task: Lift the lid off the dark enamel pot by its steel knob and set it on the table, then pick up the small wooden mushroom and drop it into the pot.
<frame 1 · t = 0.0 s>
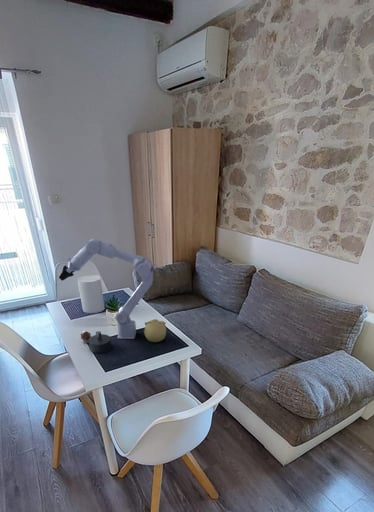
hand: (63, 276, 153), 32 cm above the table, tool tilted 50°, fingers open, 7 cm apart
sculpture: (155, 339, 168), on the table
canister: (93, 309, 199), on the table
lid: (99, 340, 156), point 5 cm above the table, touching pot
pot: (100, 348, 159), on the table
mushroom: (86, 341, 164), on the table
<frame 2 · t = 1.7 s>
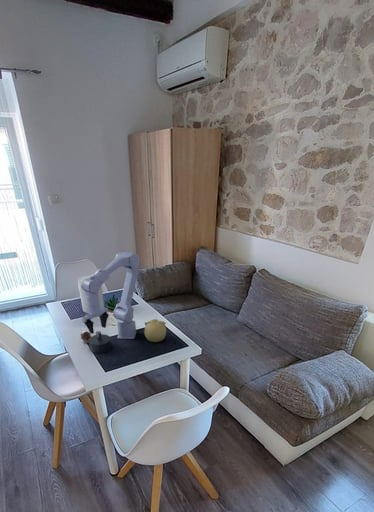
hand: (97, 330, 153), 10 cm above the table, tool pointing down, fingers open, 7 cm apart
nothing on the table moved.
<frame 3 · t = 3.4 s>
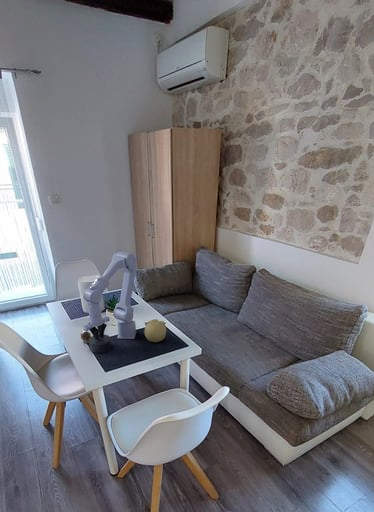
hand: (99, 338, 156), 6 cm above the table, tool pointing down, fingers closed on lid, 2 cm apart
lid: (99, 340, 156), point 5 cm above the table, touching gripper, pot
everything else where it was.
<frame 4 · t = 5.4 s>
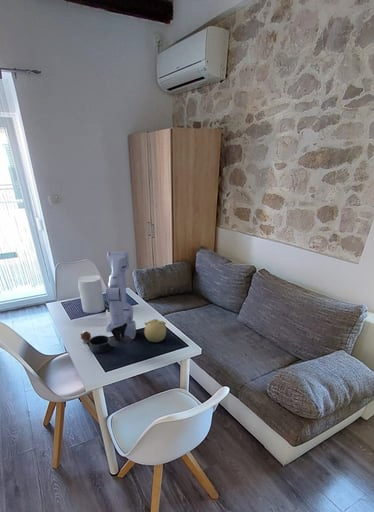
hand: (119, 339, 148), 9 cm above the table, tool pointing down, fingers closed on lid, 2 cm apart
lid: (119, 341, 149), point 8 cm above the table, touching gripper
everything else where it was.
when the fingers open (2 cm above the table, at t = 7.4 s): lid stays where it is, point 1 cm above the table.
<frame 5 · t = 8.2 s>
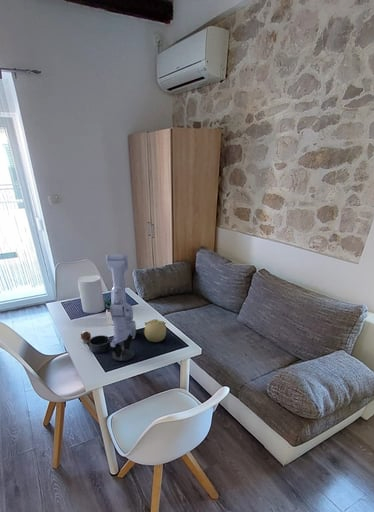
hand: (122, 352, 152), 2 cm above the table, tool pointing down, fingers open, 7 cm apart
lid: (123, 355, 152), point 1 cm above the table
everything else where it was.
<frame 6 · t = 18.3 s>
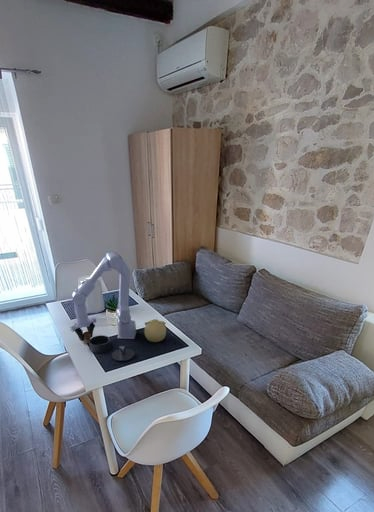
hand: (86, 338, 163), 2 cm above the table, tool pointing down, fingers closed on mushroom, 5 cm apart
mushroom: (86, 341, 164), on the table, touching gripper
everything else where it was.
when the fingers open (4 cm above the table, at t = 23.4 s): mushroom stays where it is, resting on pot.
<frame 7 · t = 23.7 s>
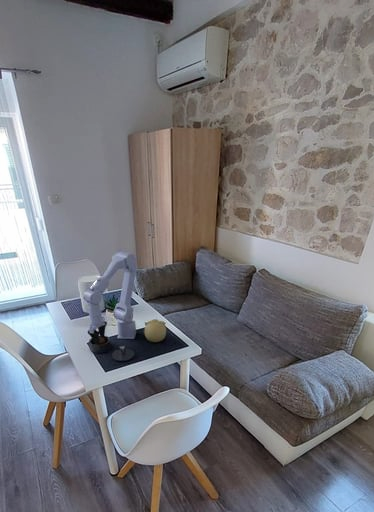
hand: (99, 339, 157), 5 cm above the table, tool pointing down, fingers open, 7 cm apart
mushroom: (100, 347, 159), resting on pot
everything else where it was.
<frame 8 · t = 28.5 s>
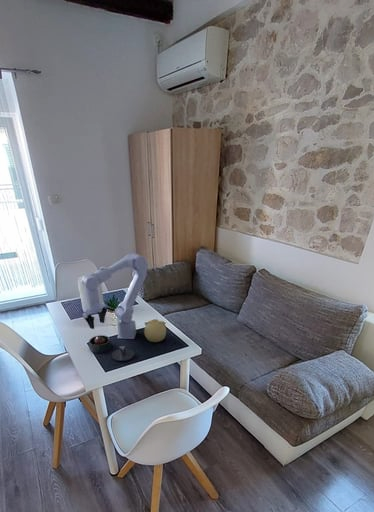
hand: (97, 325, 158), 10 cm above the table, tool pointing down, fingers open, 7 cm apart
nothing on the table moved.
at the end: lid inside the target area (0.0 cm from its centre), point 0.6 cm above the table; mushroom inside the target area in the pot (0.0 cm from its centre), point 0.4 cm above the pot's base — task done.
